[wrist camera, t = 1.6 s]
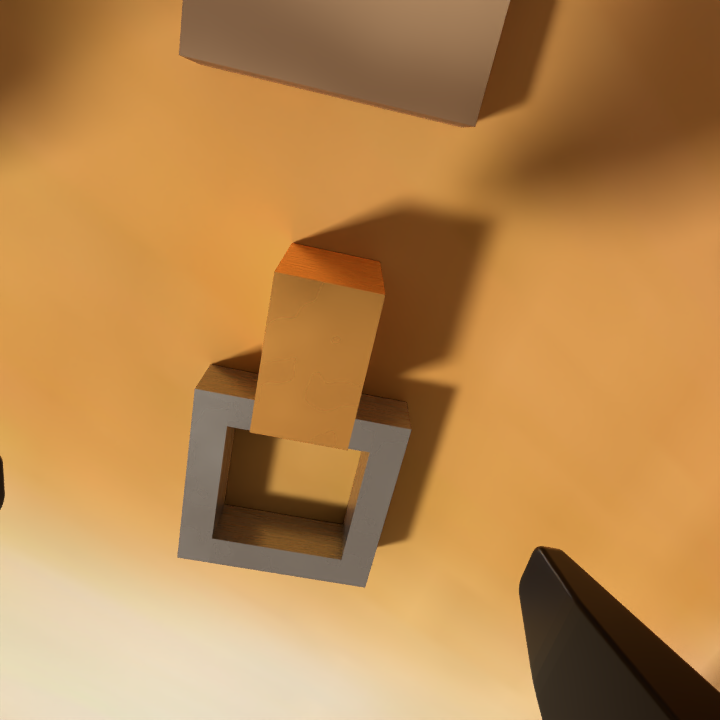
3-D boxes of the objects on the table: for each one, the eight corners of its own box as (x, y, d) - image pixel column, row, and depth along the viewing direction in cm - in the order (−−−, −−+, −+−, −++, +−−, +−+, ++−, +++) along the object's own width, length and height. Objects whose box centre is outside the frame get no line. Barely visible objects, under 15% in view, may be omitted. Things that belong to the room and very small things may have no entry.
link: (364, 550, 23) (365, 631, 19) (192, 522, 22) (159, 599, 18) (442, 275, 18) (464, 311, 14) (226, 228, 17) (190, 254, 14)
